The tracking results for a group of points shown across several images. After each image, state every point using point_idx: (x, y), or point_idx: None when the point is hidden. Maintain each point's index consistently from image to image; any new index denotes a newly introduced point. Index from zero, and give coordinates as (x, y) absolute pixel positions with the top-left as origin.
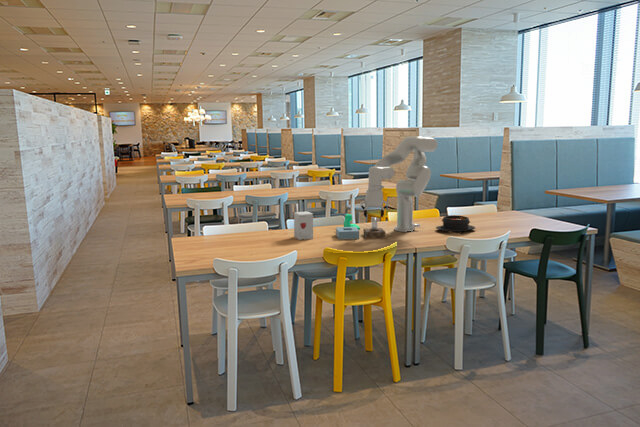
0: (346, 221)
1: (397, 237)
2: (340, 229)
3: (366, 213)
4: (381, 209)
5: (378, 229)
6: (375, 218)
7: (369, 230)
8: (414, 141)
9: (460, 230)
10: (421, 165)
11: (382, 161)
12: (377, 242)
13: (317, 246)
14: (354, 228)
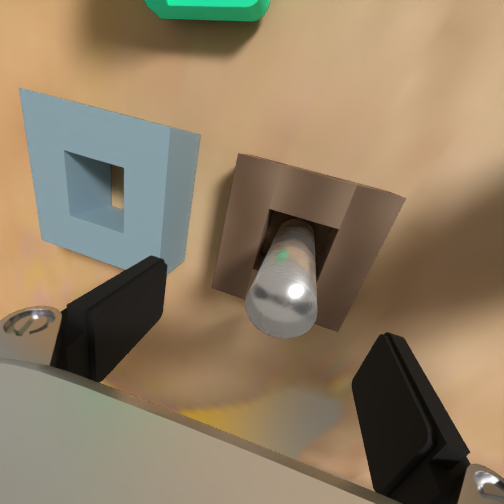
0: None
1: (415, 330)
2: (49, 181)
3: (127, 347)
4: (429, 485)
5: (339, 241)
6: (275, 335)
7: (253, 242)
8: None
9: None
10: None
11: None
12: (242, 356)
13: (10, 296)
14: (144, 187)
